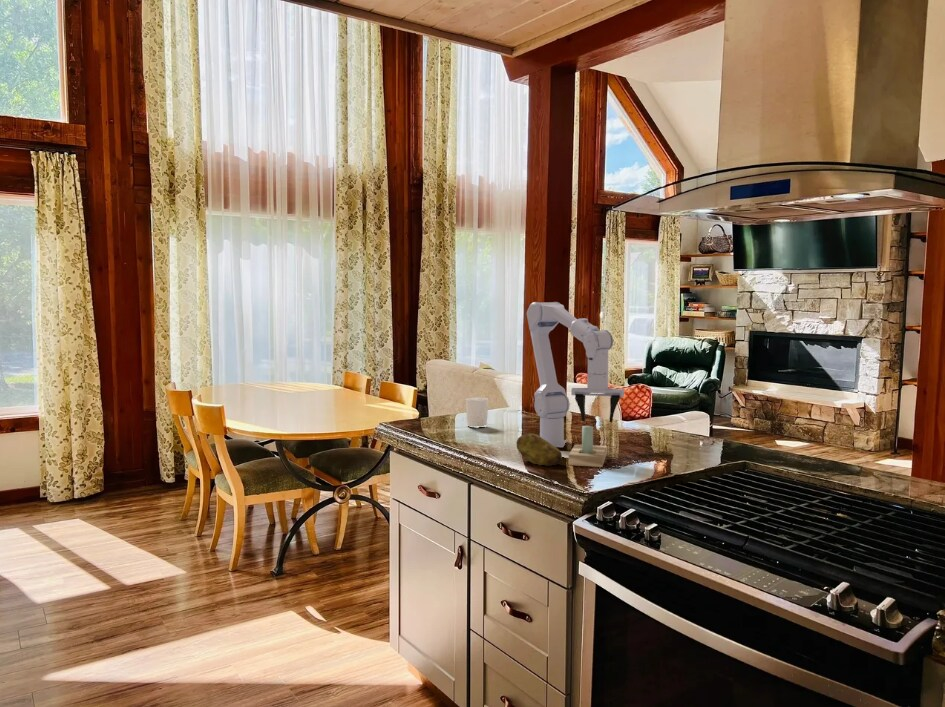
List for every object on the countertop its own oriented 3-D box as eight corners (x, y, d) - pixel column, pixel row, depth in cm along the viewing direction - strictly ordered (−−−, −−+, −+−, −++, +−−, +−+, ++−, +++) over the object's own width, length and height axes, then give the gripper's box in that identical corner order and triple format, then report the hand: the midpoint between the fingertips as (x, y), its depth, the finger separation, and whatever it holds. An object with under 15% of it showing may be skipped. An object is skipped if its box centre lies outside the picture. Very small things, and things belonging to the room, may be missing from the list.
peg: (581, 461, 198) (582, 425, 197) (592, 461, 197) (593, 425, 196) (581, 463, 195) (581, 427, 194) (592, 464, 194) (593, 427, 193)
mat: (556, 451, 209) (556, 450, 209) (574, 452, 208) (574, 451, 208) (552, 457, 202) (552, 456, 202) (571, 458, 200) (571, 457, 200)
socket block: (574, 454, 206) (574, 444, 205) (606, 456, 203) (606, 446, 203) (568, 465, 192) (568, 454, 192) (602, 467, 190) (602, 456, 190)
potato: (542, 470, 187) (542, 440, 186) (511, 461, 197) (511, 433, 197) (565, 466, 192) (565, 437, 191) (534, 457, 202) (534, 429, 202)
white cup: (463, 428, 248) (462, 399, 247) (469, 424, 255) (469, 396, 254) (484, 429, 245) (484, 400, 244) (490, 425, 253) (490, 397, 252)
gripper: (570, 374, 198) (569, 422, 199) (623, 375, 194) (622, 424, 195) (573, 371, 205) (572, 418, 206) (624, 372, 201) (624, 420, 202)
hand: (597, 421), depth 201 cm, fingers open, 7 cm apart
